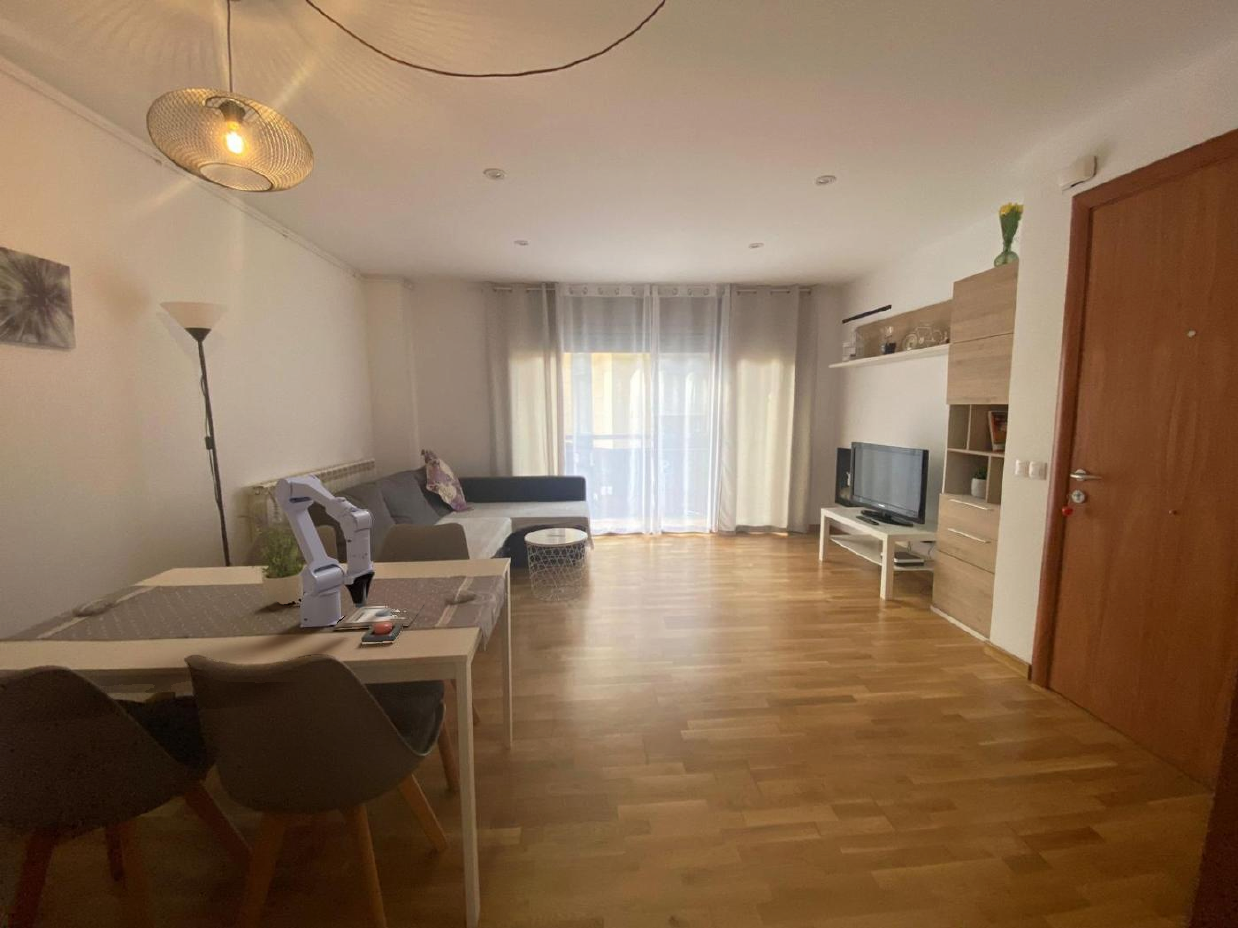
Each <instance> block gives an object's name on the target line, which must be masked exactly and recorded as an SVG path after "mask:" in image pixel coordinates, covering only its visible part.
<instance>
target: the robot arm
mask: <svg viewBox="0 0 1238 928" xmlns="http://www.w3.org/2000/svg"><path fill="white" fill-rule="evenodd" d="M273 493H274V495H275V497H276V499H277V502H278V504H279V507H280V509H281V510H283V511H284V514H285V515H286V518H287V521H288V522H289V525H290V528H291V530H292V532H293V534H294V536H295V539H296V541H297V543H298V546H299V549H300V550H301V553H302V556H303V557H304V560H305V563H306V565H305V566H304V568H303V569H302V571H301V573H300V575H301V577H302V585H303V589H304V590H305V592H306V593H305V594H304V595H303V597H302V599H300V600H301V603H300V604H299V606H300V607H299V608H300V609H299V610H300V623H301V624H300V625H299V628H313V627H314V628H316V627H331V626H330V625H334V626H336V625H337V624H338V623H339V622H338V621H337V620H338V619H342V618H343V617H344V616H342V617H341V613H342V612H341V611H342V610H341V609H342V608H341V590H342V589H343V585H344V586H345V587H346V589H347V590H348V592H349V595H350V597H351V601H352V602H353V604H354V605H355V604H357V603H362V601H363V595H364V588H365V584H366V599H368V595H369V593H370V587H371V583H372V581H373V578H374V576H375V575H376V573H375V571H376V567H374V561H372V560H371V545H370V544H371V534H370V533H371V532H370V529H372V528H373V526H374V524H375V517H374V515H373V513H372V512H371V511H370V510H369V509H368V508H363V509H361V508H358V507H357V506H355V505H353V504H352V503H351V502H350V501H348V500H347V498H345V497H344V496H342V497H341V496H337V497H335V496H334V495H333V494H332V493H331V492H329V490H327V489H326V488H325V487H323V486H322V481H321V479H320V478H317V477H316V475H313V474H311V475H310V474H309V475H307V476H306V475H305V476H297V477H287V478H286V477H281V478H278V480H277V481H276V483H275V487H274V491H273ZM314 502H316V503H317V504H319V505H321V506H323V507H324V508H325V512H326V514H327V515H329V516H330V517H331V518H332V519H334V520H335V521H337V522H338V523H339V525H340V529H341V531H342V532H343V538H344V540H346V541H345V542H346V543H345V545H346V566H347V568H346V570H345V569H344V567H342V565H341V564H340V563H339V560H338V559H336V558H333V557H330V556H328V554H327V553H326V549H325V546H324V545H323V543H322V540H321V539H320V536H319V533H318V532H317V529H316V527H315V525H314V522H313V520H312V517H311V515H310V513H309V510H308V508H309V507H311V506H312V505H313V504H314ZM337 622H338V623H337Z"/></svg>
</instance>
